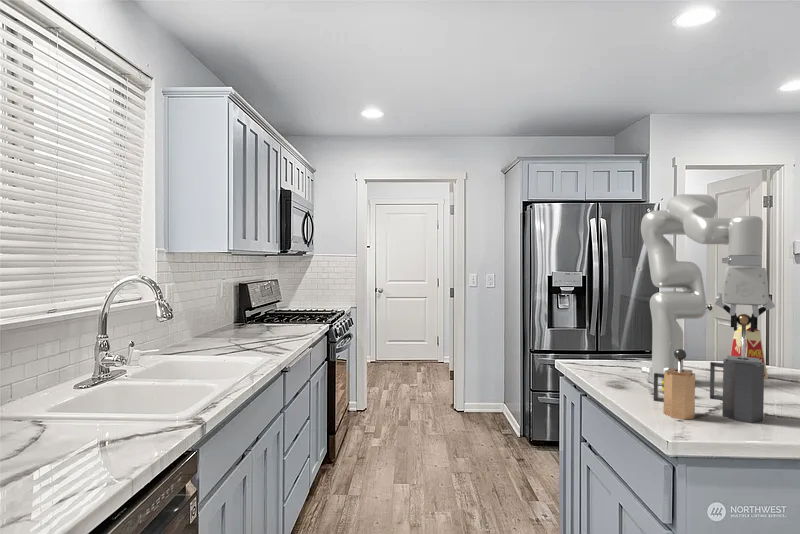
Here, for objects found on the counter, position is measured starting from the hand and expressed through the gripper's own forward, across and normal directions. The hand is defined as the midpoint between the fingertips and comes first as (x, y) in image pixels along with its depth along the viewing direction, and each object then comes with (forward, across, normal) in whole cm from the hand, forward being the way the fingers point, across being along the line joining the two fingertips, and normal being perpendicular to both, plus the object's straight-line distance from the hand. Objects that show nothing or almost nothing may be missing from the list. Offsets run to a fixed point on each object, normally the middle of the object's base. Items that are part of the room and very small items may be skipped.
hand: (743, 330), depth 137 cm
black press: (+24, -1, 0) cm, 24 cm away
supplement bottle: (+24, -18, +14) cm, 33 cm away
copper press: (+24, -16, -8) cm, 29 cm away
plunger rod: (+16, 0, 0) cm, 16 cm away
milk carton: (+24, +3, +63) cm, 67 cm away
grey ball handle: (+23, -14, -8) cm, 28 cm away
